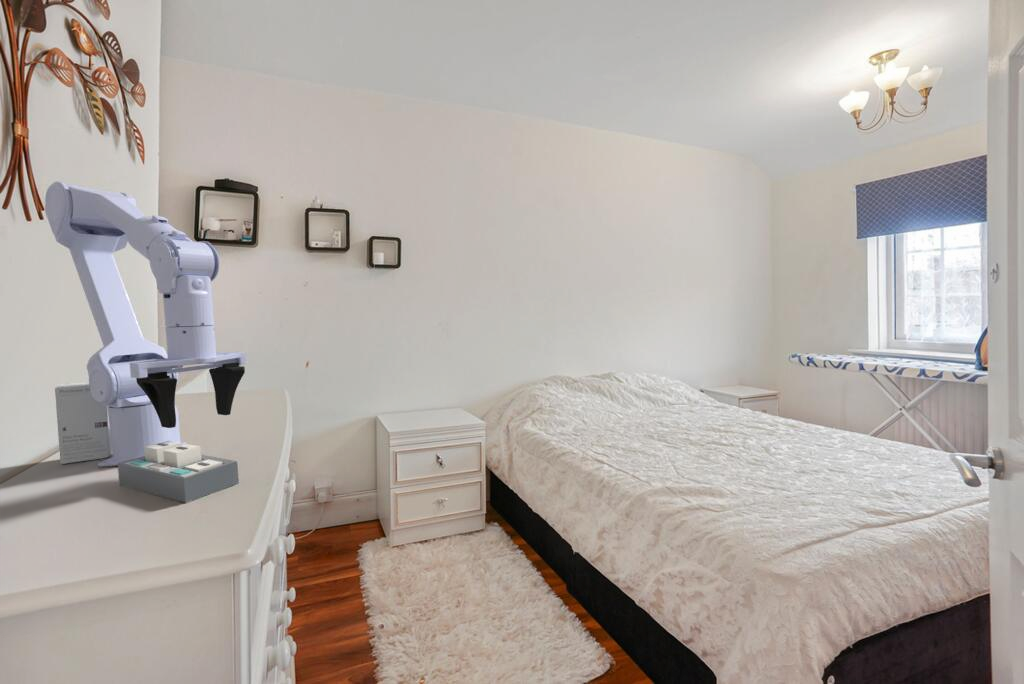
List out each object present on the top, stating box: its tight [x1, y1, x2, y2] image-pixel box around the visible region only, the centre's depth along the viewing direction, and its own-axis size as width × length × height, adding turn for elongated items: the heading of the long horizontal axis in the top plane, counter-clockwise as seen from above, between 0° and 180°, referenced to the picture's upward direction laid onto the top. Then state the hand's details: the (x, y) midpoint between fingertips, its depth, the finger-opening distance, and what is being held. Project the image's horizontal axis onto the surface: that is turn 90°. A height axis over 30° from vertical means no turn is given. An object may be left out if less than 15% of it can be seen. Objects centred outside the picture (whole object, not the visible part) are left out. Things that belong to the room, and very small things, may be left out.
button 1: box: [144, 441, 182, 463], centre depth 64 cm, size 3×3×2 cm
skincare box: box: [54, 381, 112, 465], centre depth 74 cm, size 6×4×12 cm
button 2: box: [185, 459, 223, 472], centre depth 60 cm, size 3×3×2 cm
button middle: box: [163, 443, 202, 468], centre depth 62 cm, size 3×3×2 cm
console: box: [117, 454, 240, 504], centre depth 62 cm, size 15×7×3 cm, turn 64°
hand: (197, 420), depth 67 cm, fingers open, 7 cm apart
